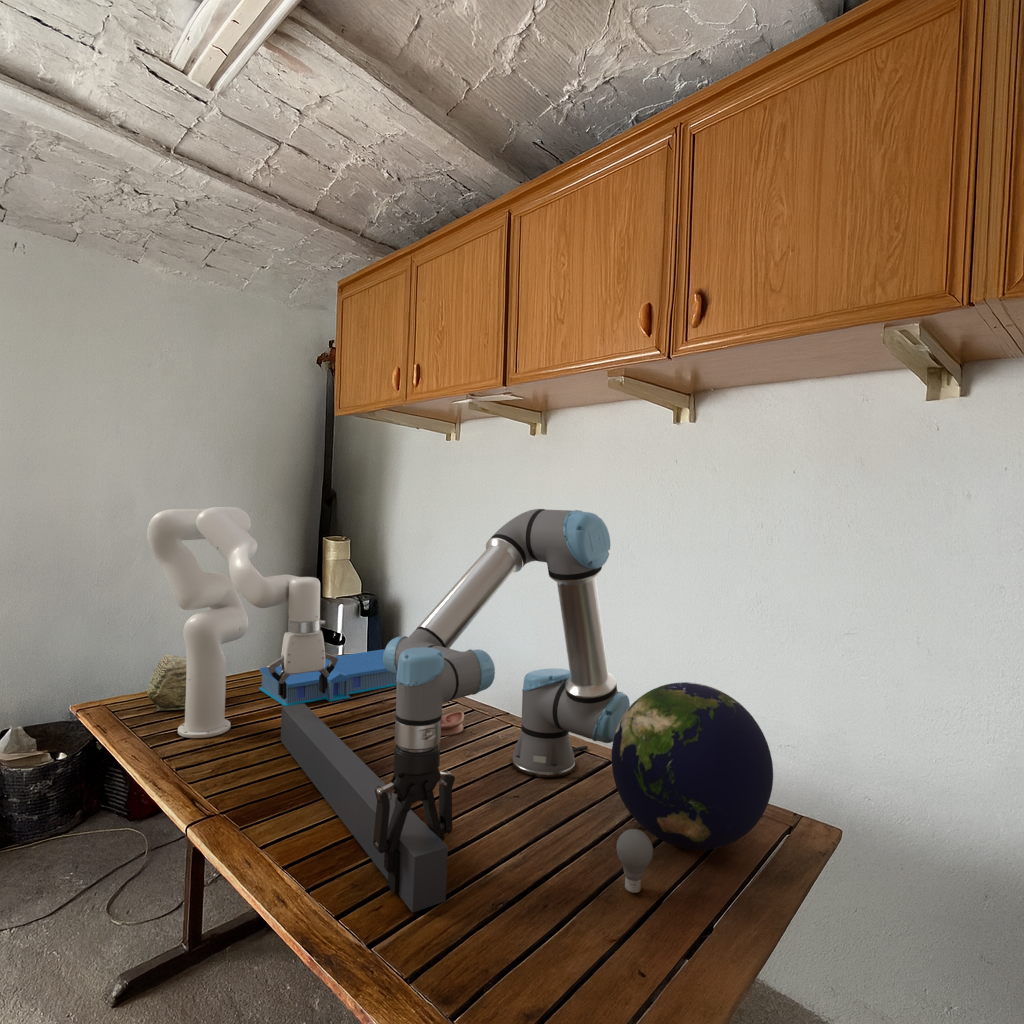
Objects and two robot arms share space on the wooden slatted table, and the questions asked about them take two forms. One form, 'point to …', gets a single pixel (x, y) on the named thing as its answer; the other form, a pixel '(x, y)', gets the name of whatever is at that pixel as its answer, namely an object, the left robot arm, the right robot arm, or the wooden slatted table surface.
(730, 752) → the globe
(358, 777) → the beam
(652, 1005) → the wooden slatted table surface
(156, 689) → the fossil
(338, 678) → the model building
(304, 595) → the left robot arm
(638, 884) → the light bulb
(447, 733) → the anatomical model
